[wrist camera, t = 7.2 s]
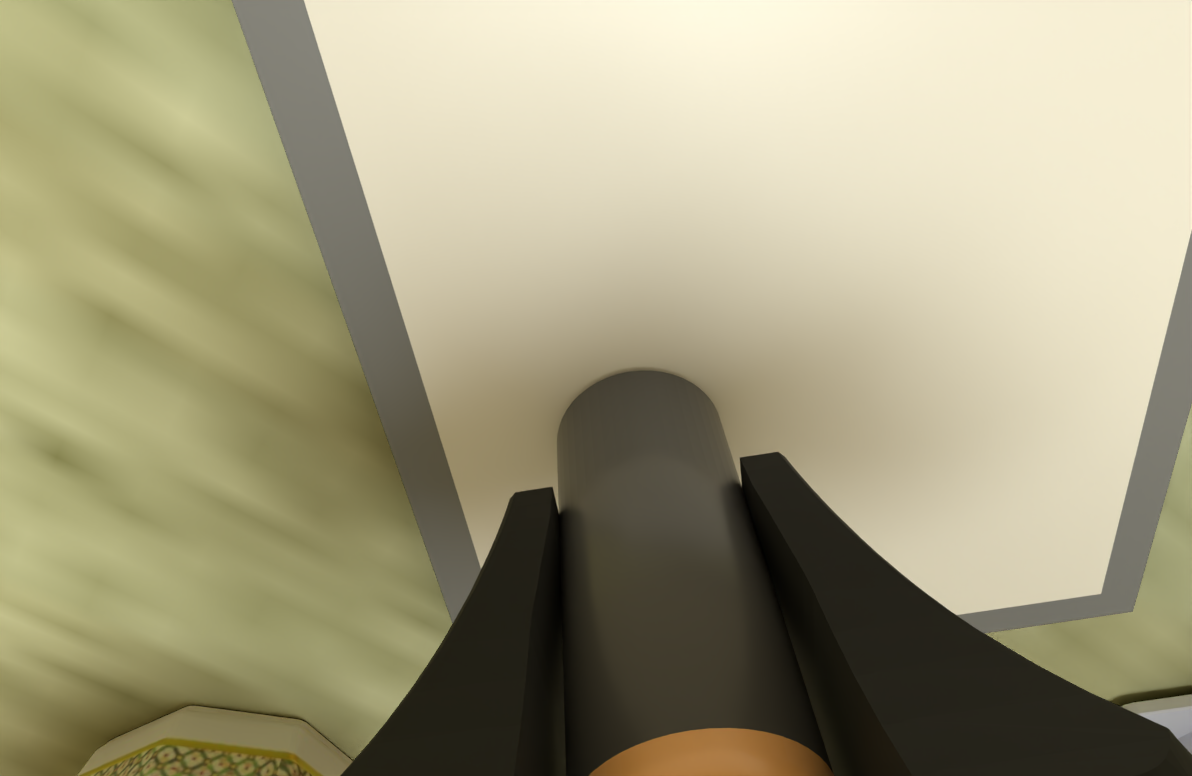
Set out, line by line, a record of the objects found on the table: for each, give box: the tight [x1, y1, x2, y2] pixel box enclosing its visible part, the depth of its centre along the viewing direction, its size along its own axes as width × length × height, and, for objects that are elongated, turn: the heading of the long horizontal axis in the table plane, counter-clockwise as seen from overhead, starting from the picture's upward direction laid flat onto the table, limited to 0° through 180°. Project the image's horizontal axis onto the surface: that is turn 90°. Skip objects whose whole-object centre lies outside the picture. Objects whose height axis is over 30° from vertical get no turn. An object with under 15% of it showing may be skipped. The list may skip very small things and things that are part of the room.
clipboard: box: [232, 0, 1192, 633], centre depth 14 cm, size 20×15×2 cm
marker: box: [557, 370, 834, 776], centre depth 12 cm, size 3×3×8 cm
